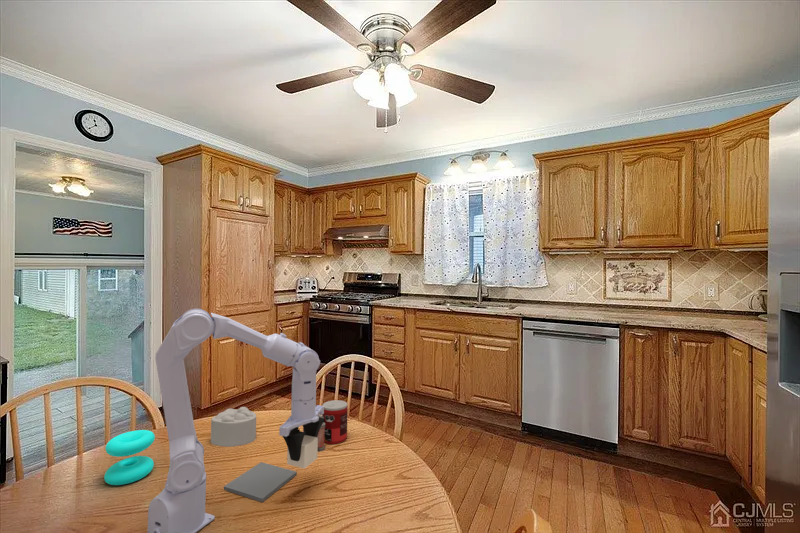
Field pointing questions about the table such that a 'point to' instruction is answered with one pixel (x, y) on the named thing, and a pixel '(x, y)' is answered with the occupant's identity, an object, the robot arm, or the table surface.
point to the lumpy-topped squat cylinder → (233, 427)
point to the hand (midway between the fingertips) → (302, 454)
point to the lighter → (321, 437)
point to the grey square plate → (260, 481)
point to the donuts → (131, 466)
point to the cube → (305, 452)
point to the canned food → (335, 421)
